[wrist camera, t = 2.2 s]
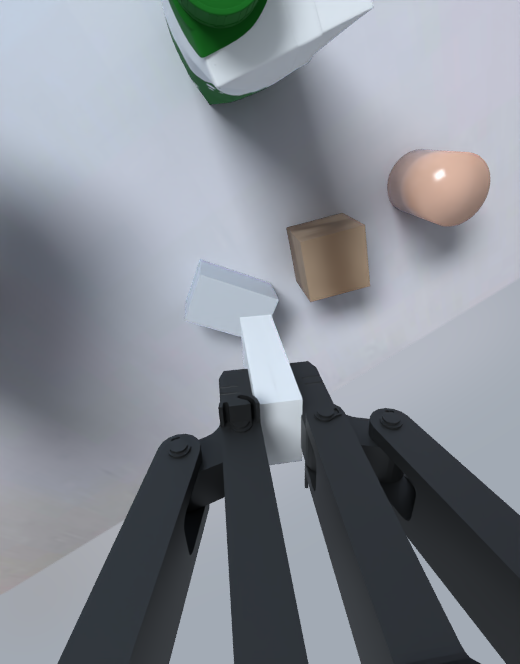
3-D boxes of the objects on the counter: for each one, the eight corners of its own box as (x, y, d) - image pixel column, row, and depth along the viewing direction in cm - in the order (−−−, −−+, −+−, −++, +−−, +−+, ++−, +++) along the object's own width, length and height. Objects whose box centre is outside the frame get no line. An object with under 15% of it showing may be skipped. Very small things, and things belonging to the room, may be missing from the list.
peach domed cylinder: (384, 214, 39) (418, 228, 33) (391, 151, 37) (430, 154, 30) (437, 210, 40) (481, 223, 34) (448, 147, 37) (497, 150, 31)
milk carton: (152, 1, 29) (82, -203, 11) (258, -57, 28) (358, -366, 11) (205, 121, 33) (214, 106, 16) (298, 73, 32) (417, 2, 15)
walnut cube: (296, 280, 42) (310, 301, 36) (286, 227, 39) (300, 242, 33) (348, 266, 42) (369, 286, 36) (342, 212, 39) (364, 225, 33)
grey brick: (185, 301, 41) (184, 320, 36) (200, 258, 39) (200, 274, 34) (253, 321, 43) (260, 342, 39) (270, 282, 41) (278, 299, 37)
